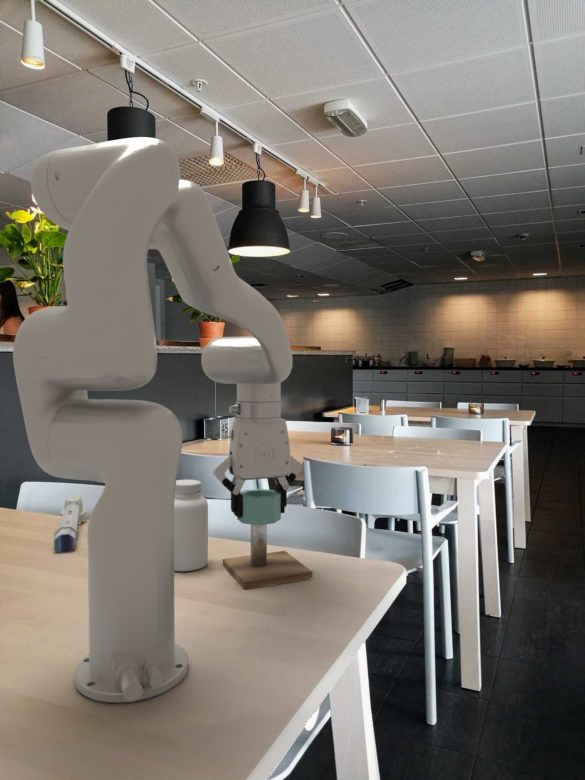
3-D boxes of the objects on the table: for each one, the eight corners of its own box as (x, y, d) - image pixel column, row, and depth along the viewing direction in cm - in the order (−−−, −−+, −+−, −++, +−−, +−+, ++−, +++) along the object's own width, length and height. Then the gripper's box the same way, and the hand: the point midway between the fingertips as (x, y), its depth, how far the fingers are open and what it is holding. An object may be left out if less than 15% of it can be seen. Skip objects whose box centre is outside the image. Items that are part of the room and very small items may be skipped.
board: (312, 578, 97) (312, 571, 97) (244, 589, 92) (244, 582, 92) (284, 557, 108) (284, 550, 108) (222, 565, 103) (222, 559, 103)
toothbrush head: (49, 534, 109) (62, 489, 133) (50, 567, 111) (62, 517, 134) (78, 532, 111) (86, 488, 134) (79, 565, 112) (86, 515, 136)
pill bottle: (216, 561, 106) (216, 479, 105) (191, 575, 98) (190, 488, 98) (180, 555, 109) (180, 476, 108) (153, 568, 102) (153, 484, 101)
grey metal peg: (269, 565, 100) (269, 502, 100) (253, 567, 99) (253, 503, 98) (263, 560, 103) (263, 499, 102) (248, 562, 101) (248, 500, 101)
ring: (285, 522, 99) (285, 495, 99) (246, 526, 96) (246, 499, 96) (270, 512, 105) (270, 487, 105) (233, 516, 102) (233, 491, 102)
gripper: (216, 415, 93) (216, 524, 94) (313, 411, 100) (313, 513, 100) (203, 411, 100) (204, 513, 100) (296, 408, 107) (296, 504, 107)
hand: (259, 512), depth 100 cm, fingers closed on ring, 7 cm apart
